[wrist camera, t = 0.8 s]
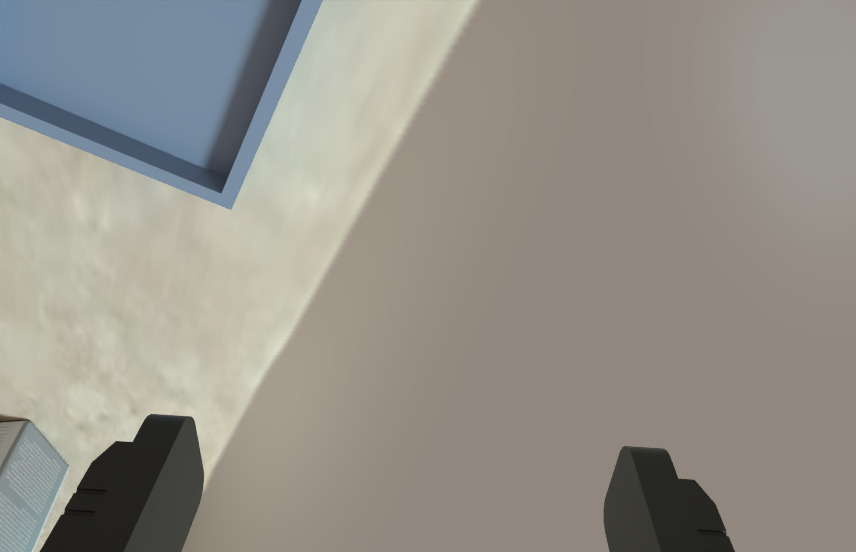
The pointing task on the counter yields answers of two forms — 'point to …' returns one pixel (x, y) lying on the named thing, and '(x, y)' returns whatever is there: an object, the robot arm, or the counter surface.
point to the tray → (153, 81)
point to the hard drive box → (26, 484)
